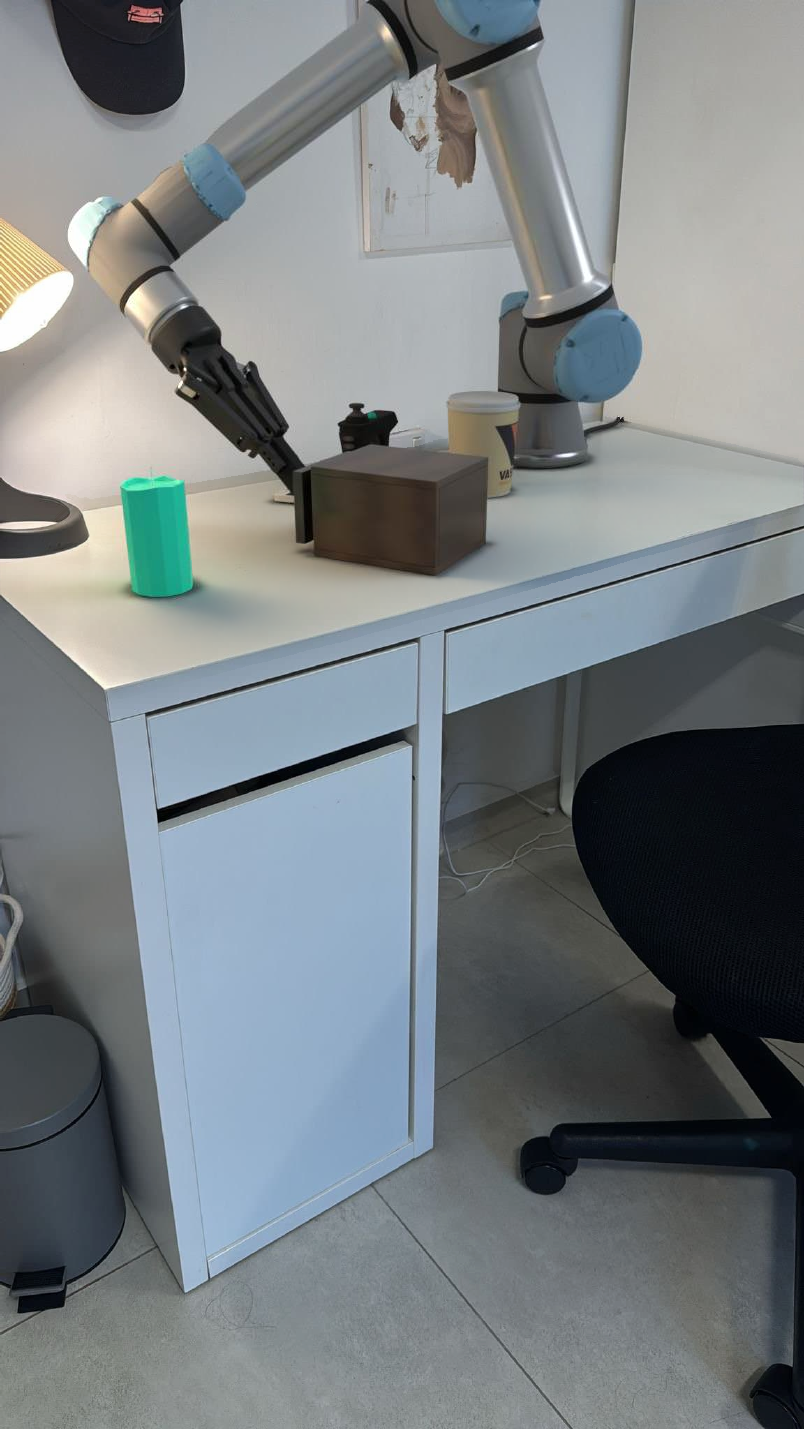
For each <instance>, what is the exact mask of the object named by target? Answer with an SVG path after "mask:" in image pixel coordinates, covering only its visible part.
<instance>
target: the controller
mask: <svg viewBox="0 0 804 1429" xmlns="http://www.w3.org/2000/svg"><path fill="white" fill-rule="evenodd" d="M348 404H349V405H348V408H349V409H352V411H351V412H350V413H349V414H348V415H346V417H345V419H344V420H341V421H339V422H337V426H338V427H339V428H338V431H339V432H338V438H339V442H340V447H341V453H344V452H347V451H354V450H357V449H359V448H362V447H365V446H368V445H370V444H372V445H381V446H390V435H391V433H392V431H393V430H394V429H395V427H396V426H397V425H398V423H399V420H398V416H397V414H396V412H395V411H394V410H385V409H384V410H382V409H374V410H372V411H368V412H365V413H364V412H363V411H362V409H364V408H365V403H362V402H352V403H348Z"/></svg>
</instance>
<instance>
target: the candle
mask: <svg viewBox="0 0 804 1429" xmlns="http://www.w3.org/2000/svg"><path fill="white" fill-rule="evenodd" d="M149 467H150V469H149V470H150V477H138V476H131V477H130V478H127V479H125V480H122V482H121V484H120V486H119V487H120V495H121V496H120V497H121V506H122V513H123V521H124V522H123V523H124V530H125V539H126V549H127V556H128V566H129V575H130V576H129V577H130V584H131V585H130V586H131V591H132V592H133V593H135V594H136V595H138V596H144V597H149V598H162V597H163V598H166V597H172V596H177V595H182V594H184V593H186V592H188V591H190V590H192V589H193V586H194V576H193V566H192V564H193V563H192V553H191V543H190V531H189V521H188V520H189V518H188V509H187V508H188V507H187V497H186V486H185V479H176V478H173V477H170V476H168V475H165V474H164V475H163V474H162V475H158V476H153V469H152V468H153V467H152V465H149Z"/></svg>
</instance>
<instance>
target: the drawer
mask: <svg viewBox="0 0 804 1429" xmlns="http://www.w3.org/2000/svg"><path fill="white" fill-rule="evenodd" d="M349 452H351V451H347V452H344V453H342V452H340V453H338V454H336V455H334V456H331V457H328V458H326V459H322V460H320V461H318V462H317V461H316V462H314V463H311V464H309V465H306V466H305V467H303V468H301V469H298V470H295V471H293V487H294V503H293V504H294V505H293V506H294V508H293V509H294V523H295V524H294V525H295V526H294V528H295V530H294V531H295V543H297V544H303V545H306V544H308V543H311V542H312V541H314V539H313V513H312V487H311V466H314V465H316V464H319V463H322V462H324V461H327V460H330V459H332V458H335V457H338V456H341V455H343V454H346V453H349Z"/></svg>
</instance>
